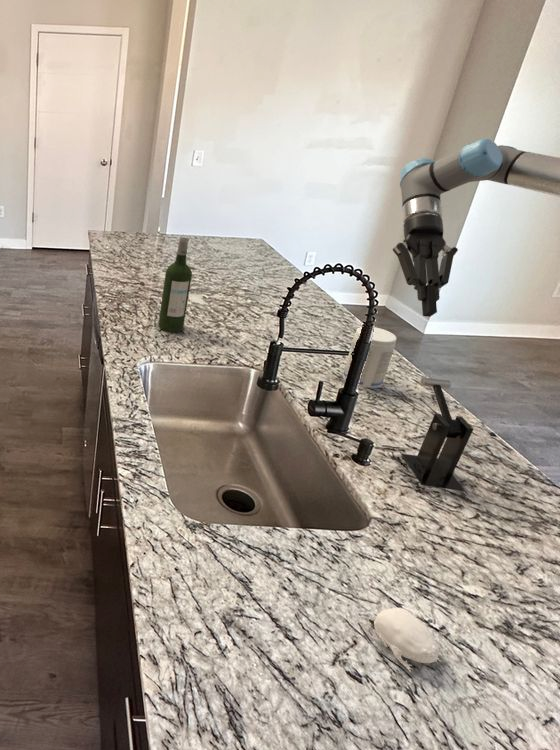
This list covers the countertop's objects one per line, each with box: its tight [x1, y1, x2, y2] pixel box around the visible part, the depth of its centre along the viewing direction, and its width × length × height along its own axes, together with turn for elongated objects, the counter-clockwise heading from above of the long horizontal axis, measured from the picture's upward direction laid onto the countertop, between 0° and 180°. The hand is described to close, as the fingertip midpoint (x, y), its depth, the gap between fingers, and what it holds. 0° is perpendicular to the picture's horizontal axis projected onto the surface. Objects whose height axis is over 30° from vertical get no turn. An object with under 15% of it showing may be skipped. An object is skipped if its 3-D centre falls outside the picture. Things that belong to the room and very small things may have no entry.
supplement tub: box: [342, 326, 398, 389], centre depth 143 cm, size 10×10×15 cm
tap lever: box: [420, 377, 462, 438], centre depth 110 cm, size 13×5×2 cm, turn 170°
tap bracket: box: [400, 413, 474, 492], centre depth 109 cm, size 10×8×14 cm
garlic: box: [373, 607, 442, 673], centre depth 77 cm, size 8×7×4 cm
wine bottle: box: [158, 235, 193, 333], centre depth 167 cm, size 8×8×30 cm
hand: (429, 314), depth 118 cm, fingers closed
